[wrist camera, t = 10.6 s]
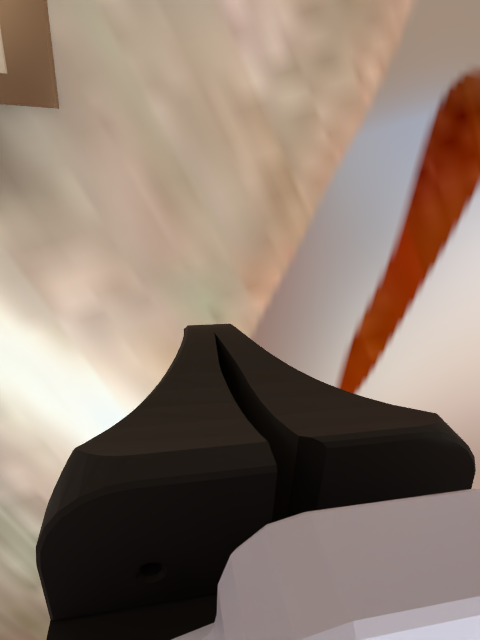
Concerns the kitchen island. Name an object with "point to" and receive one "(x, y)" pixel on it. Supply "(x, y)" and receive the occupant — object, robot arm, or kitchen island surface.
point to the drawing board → (26, 55)
